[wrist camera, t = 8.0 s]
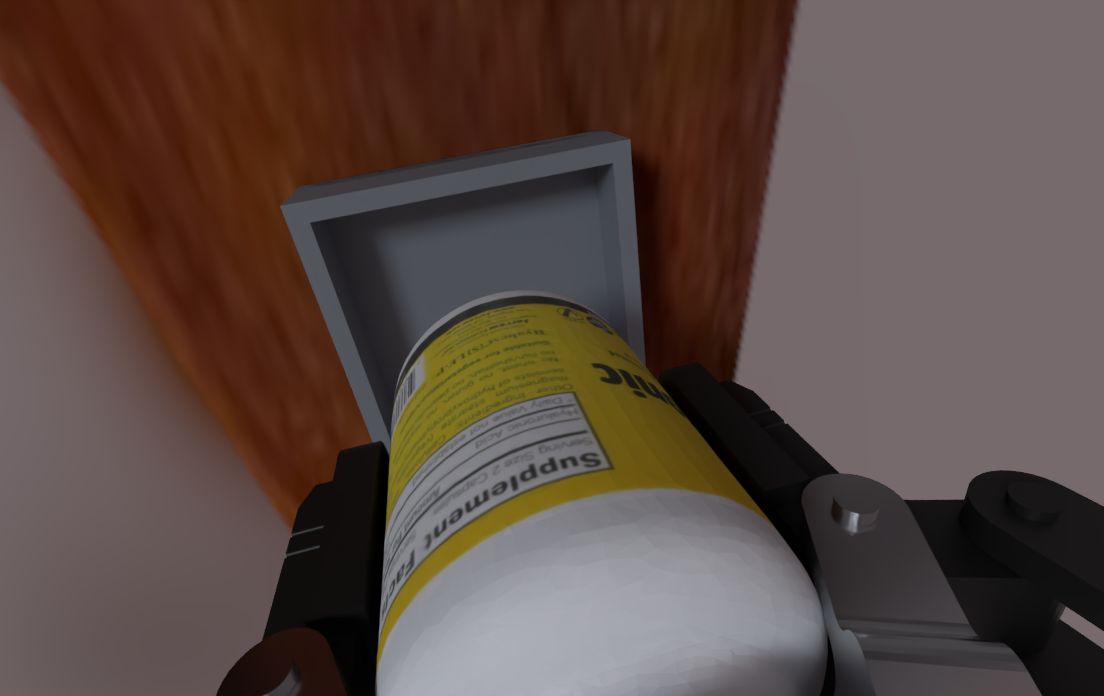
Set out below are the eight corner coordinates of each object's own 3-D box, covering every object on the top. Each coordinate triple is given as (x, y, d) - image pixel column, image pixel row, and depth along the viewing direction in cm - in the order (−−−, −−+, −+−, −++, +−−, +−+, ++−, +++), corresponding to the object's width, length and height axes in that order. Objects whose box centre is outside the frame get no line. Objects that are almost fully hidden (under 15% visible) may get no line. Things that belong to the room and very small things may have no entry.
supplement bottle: (658, 421, 14) (1061, 1002, 5) (468, 518, 14) (554, 1253, 5) (577, 234, 11) (1140, 803, 2) (341, 357, 11) (83, 1327, 2)
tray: (299, 186, 15) (280, 206, 13) (601, 129, 16) (630, 138, 14) (390, 434, 19) (387, 480, 17) (624, 376, 20) (648, 412, 18)
